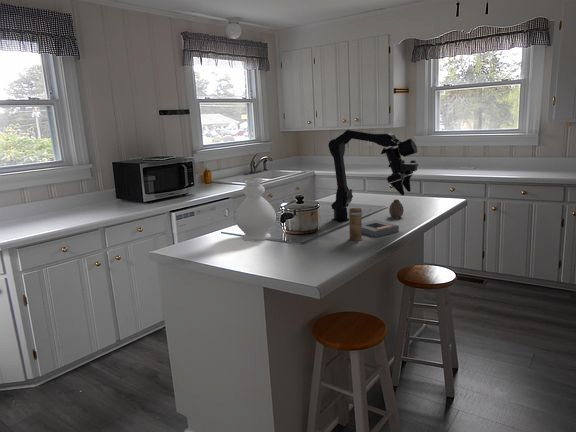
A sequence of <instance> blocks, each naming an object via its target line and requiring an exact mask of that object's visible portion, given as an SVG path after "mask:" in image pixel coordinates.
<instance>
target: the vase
mask: <svg viewBox="0 0 576 432" xmlns="http://www.w3.org/2000/svg"><path fill="white" fill-rule="evenodd" d="M388 212H389V215H390V217H391V218H393V219H400V218H401V217H403V215H404V206H403V204H402V203H401V201H400V199H397V198H396V199H393V201H392V203H391V204H389V208H388Z"/></svg>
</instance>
